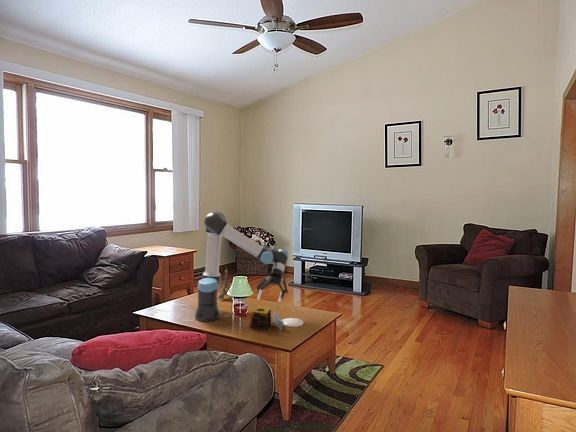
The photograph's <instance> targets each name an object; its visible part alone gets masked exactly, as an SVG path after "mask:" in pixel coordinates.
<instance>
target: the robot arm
mask: <svg viewBox="0 0 576 432" xmlns="http://www.w3.org/2000/svg"><path fill="white" fill-rule="evenodd" d="M203 222H204V223H203V224H204V227H205V233H206V235H207V240H206V242H207V243H206V244H207V245H206V257H205V269H204V272H203V273H202V279H200V280H198V283H197V308H196V311H195V314H194V319H195V320H196V321H199V322H213V321H217V320H219V319H220V318H221V312H220V310H219V309H220V308H219V307H218V293H219V291H220V289H221V286H222V280H221V277H222V274H221V273H220V272H219V269H220V261H221V260H220V258H221V247H222V245H221V244H222V237H223V238H225V239H226V240H228V241H230V242H231V243H233V244H235V245H236V246H238V248H239V247H240V248H241V249H243V251H246V252H248V254H250V255H252V256H253V257H255V258H257V259H258V260H260V261H261V263H263V264H264V265H269V264H271V263H272V262H273V266H272V268H271V272H270V276H267V275H264V277H263V279H262V280H261V281H259V283H258V284H257V285H256V287H255V288H256V289H257V297H256V299H257V301H259V302H260V299H261V297H262V293H263V290H265V288H267V287H269V286H270V285H273V286H277V285H278V287H279V289H280V290H281V291H280V293H279V297H278V300H277V302H278V304H281V301H282V299H283V298H284V296H285V294H288V293H289V291H288V286H287V279H286V277H283V275H284V272H285V268H286V265H287V261H288V258H289V252H288V250H287V249H284V248H279V249H278V250H276V249H273V248H270V247H267V246H265V245H260V244H259V243H257V242H256V241H254V240H253V239H251V238H249V237H248V236H247V235H245V234H243V233H241V231H239V230H237V229H235V228H234V227H232V226H231V225H229V224H230V223H229V222H227V221H226V217H225V215H224V214H223V213H222V212H220V211H218V210H217V211H215V210H214V211H211V212H209V213H208V214H207V215H205V217H204V221H203ZM281 282H282V283H283V286H284V288H283V286H282V284H281Z"/></svg>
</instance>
